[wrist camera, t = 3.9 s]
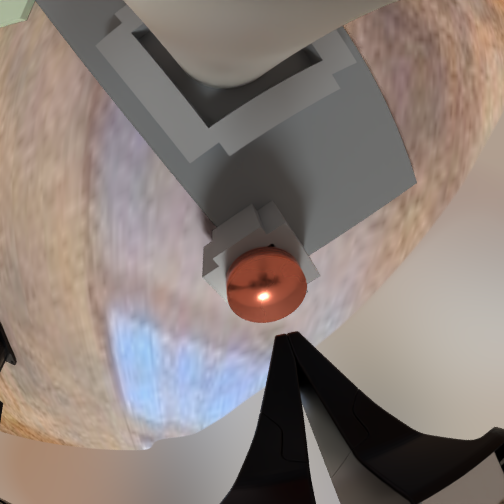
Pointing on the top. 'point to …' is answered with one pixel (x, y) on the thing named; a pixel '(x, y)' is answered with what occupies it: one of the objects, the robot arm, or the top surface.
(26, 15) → the green mat
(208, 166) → the grey button base board
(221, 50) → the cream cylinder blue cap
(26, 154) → the top surface
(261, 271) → the plunger
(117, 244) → the top surface
